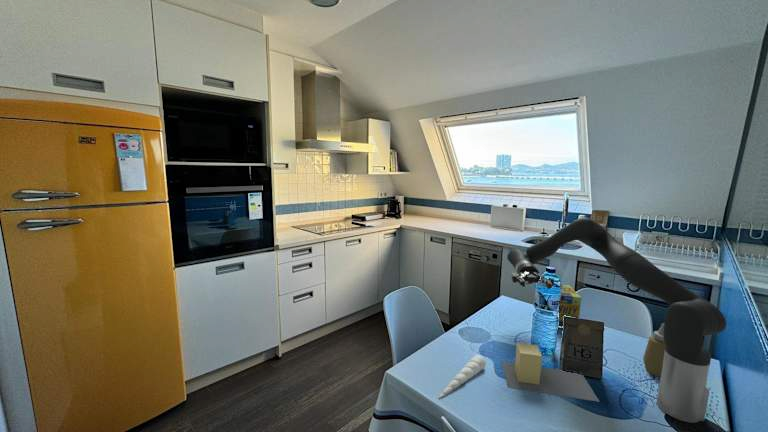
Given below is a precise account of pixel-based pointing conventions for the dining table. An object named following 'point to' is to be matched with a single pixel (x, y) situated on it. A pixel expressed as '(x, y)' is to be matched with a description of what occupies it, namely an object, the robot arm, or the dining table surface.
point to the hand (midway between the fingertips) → (536, 285)
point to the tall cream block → (528, 363)
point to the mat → (552, 383)
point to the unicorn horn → (465, 374)
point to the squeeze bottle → (655, 353)
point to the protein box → (569, 303)
